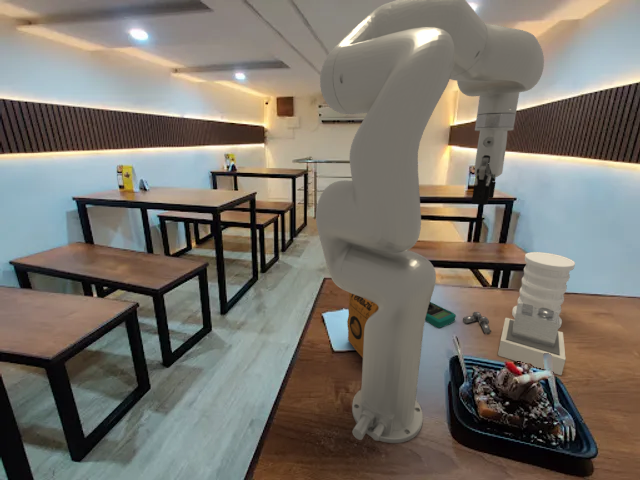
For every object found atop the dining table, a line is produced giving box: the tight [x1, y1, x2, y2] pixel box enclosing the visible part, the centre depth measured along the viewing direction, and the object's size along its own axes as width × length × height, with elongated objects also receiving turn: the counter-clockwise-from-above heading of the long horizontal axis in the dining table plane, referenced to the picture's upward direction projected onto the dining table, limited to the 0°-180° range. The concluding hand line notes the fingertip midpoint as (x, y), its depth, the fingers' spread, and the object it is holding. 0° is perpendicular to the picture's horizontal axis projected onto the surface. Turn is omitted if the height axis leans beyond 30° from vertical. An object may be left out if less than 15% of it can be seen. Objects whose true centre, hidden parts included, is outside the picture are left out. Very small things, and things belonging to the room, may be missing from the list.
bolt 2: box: [478, 315, 492, 335], centre depth 84 cm, size 5×2×2 cm, turn 166°
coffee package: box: [346, 292, 379, 359], centre depth 72 cm, size 10×12×22 cm
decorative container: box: [511, 251, 576, 330], centre depth 86 cm, size 12×12×18 cm
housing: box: [512, 302, 560, 348], centre depth 73 cm, size 8×6×7 cm
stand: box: [497, 317, 567, 376], centre depth 75 cm, size 12×12×4 cm
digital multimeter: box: [425, 301, 457, 329], centre depth 92 cm, size 7×15×3 cm, turn 32°
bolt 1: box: [462, 311, 482, 324], centre depth 87 cm, size 5×2×2 cm, turn 111°
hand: (482, 200), depth 75 cm, fingers open, 9 cm apart
